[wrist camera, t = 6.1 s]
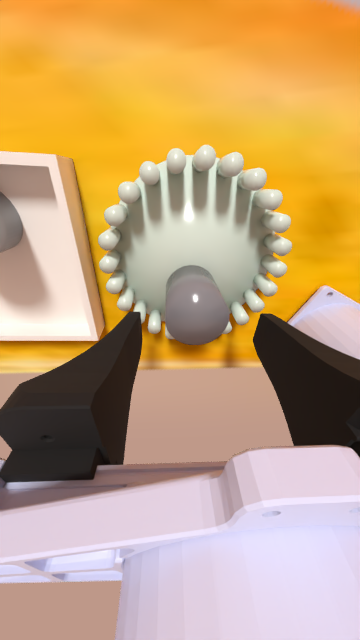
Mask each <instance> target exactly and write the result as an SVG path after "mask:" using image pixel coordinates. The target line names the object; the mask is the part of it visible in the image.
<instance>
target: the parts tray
mask: <svg viewBox="0 0 360 640" xmlns="http://www.w3.org/2000/svg"><path fill="white" fill-rule="evenodd" d="M0 192H2V193H3V194H4V195H5V196H6V197H7V198H8V199H9V200H10V201H11V203H12V204H13V205H14V207H15V208H16V210H17V211H18V213H19V215H20V218H21V221H22V225H23V235H22V239H21V241H20V242H19V243H18V245H16V246H15V247H13V248H11V249H9V250H6V251H4V252H2V253H0V341H98V340H99V338H100V336H101V333H102V331H103V329H104V327H105V322H104V317H103V312H102V307H101V302H100V297H99V292H98V287H97V282H96V276H95V271H94V266H93V261H92V256H91V251H90V246H89V241H88V236H87V231H86V225H85V220H84V215H83V210H82V205H81V200H80V195H79V190H78V185H77V179H76V174H75V169H74V164H73V159H71V158H67V157H63V156H59V155H53V154H36V153H20V152H4V151H0Z"/></svg>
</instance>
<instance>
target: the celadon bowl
mask: <svg viewBox="0 0 360 640" xmlns="http://www.w3.org/2000/svg"><path fill="white" fill-rule="evenodd" d="M243 165H244V160H243V157H242V155H241V154H240V153H238V152H233V153H231V154H228V155H226V156H224V157H222V158H220V159H219V158H216V154H215V151H214V149H213V148H212V147H211V146H209V145H204V146H202V147H201V148H200V149H199V150H198V151H197V152H196V153H195V154H194V155H186V156H185V154H184V152H183V151H182V150H181V149H178V148H174V149H172V150H171V151H170V152H169V153H168V155H167V160H166V161H164V162H161V163H159V164H157V165H155V164H154V163H153V162H151V161H146V162H144V163H143V164H142V165H141V167H140V171H139V173H140V177H138V178H137V180H136V181H135V182H123V183H121V184H120V186H119V188H118V194H119V197H120V199H121V200H120V202H119V203H118V204H116V205H113V206H111V207H109V208H107V209H106V210H105V213H104V217H105V220H106V222H107V223H108V224H109V225H111V227H110V228H109V229H107V230H106V231H105V232H103V233H102V234H101V235H100V236H99V238H98V242H99V245H100V246H101V248H103V249H104V250H108V252H107V254H106V255H105V256H104V257H103V258H102V259H101V261H100V263H99V266H100V269H101V270H102V271H103V272H105V273H112V272H113V274H112V275H111V277H110V279H109V280H108V282H107V284H106V289H107V290H108V291H109V292H110V293H112V294H117V293H119V292H120V291H121V288H122V293H121V295H120V298H119V300H118V302H117V306H118V308H119V309H120V310H122V311H128V310H129V309H130V308H131V306H132V302H133V303H134V304H135V306H134V310H133V312H140V313H141V324H142V323H143V322H144V321H145V316H146V313H147V314H149V323H148V331H149V332H150V333H153V334H156V333H158V332H160V330H161V321H165V304H166V283H167V281H168V279H169V277H170V275H171V274H172V273H173V272H174V271H176V270H177V269H179V268H181V267H183V266H188V265H196V266H200V267H203V268H204V269H206V270H207V271H209V273H210V274H211V275H212V277H213V279H214V281H215V283H216V285H217V287H218V289H219V291H220V293H221V295H222V297H223V299H224V301H225V303H226V305H227V307H228V310H229V314H230V313H232V314H233V316H234V318H235V320H236V322H237V324H239V325H244V324H246V323H247V322H248V320H249V317H248V315H247V313H246V312H245V310H244V308H243V307H242V305H243V304H244V303H245V302H246V303H247V304H248V306H249V307H250V309H251V310H252V311H253V312H260V311H261V310H262V309H263V308H264V303H263V301H262V300H261V299H260V298H259V296H258V295H257V294H256V293H255V291H256V290H257V289H258V288H259V289H260V290H261V291H262V293H263V294H264V295H265V296H272V295H274V294H275V293H276V292H277V286H276V285H275V284H274V283H273V282H272V281H271V280H270V279H269V278H268V277H267V276H266V273H267V271H268V272H269V273H271V274H272V275H273V276H274V277H281V276H283V275H284V274H285V273H286V271H287V266H286V265H285V264H284V263H283V262H281V261H280V260H278V259H277V258H275V257H274V256H273V252H275V253H276V254H278V255H279V256H284V255H286V254H288V253H289V252H290V250H291V248H292V243H291V242H290V241H289V240H287V239H285V238H283V237H281V236H279V235H277V234H275V232H277V233H282V232H285V231H286V230H287V229H288V228H289V226H290V223H291V219H290V217H289V216H288V215H285V214H281V213H278V212H274V211H271V210H275V209H277V208H278V207H279V206H280V204H281V202H282V198H283V197H282V193H281V192H280V191H279V190H271V189H261V188H262V187H263V186H264V185H265V183H266V179H267V175H266V172H265V170H264V169H262V168H255V169H249V170H242V169H243ZM231 330H232V326H231V324H230V322H228V325H227V327H226V329H225V331H224V332H223V334H227V333H229V332H230V331H231ZM165 335H166V337H167V338H168V339H175V338H173V337H172V336H171V335H170V333H169V332H168V330H167V327H166V325H165Z"/></svg>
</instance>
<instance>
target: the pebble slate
mask: <svg viewBox="0 0 360 640" xmlns="http://www.w3.org/2000/svg"><path fill="white" fill-rule="evenodd" d="M22 235H23V225H22V221H21V218H20V215H19V213H18V211H17V210H16V208H15V207H14V205H13V204H12V203H11V201H10V200H9V199H8V198H7V197H6V196H5V195H4V194H3V193H2V192H0V253H2V252H4V251H6V250H9V249H11V248H13V247H15V246H16V245H18V243H19V242H20V241H21V239H22Z"/></svg>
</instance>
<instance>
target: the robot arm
mask: <svg viewBox="0 0 360 640" xmlns="http://www.w3.org/2000/svg"><path fill="white" fill-rule="evenodd" d="M329 292H330V293H329ZM328 293H329V294H328ZM327 294H328V295H327ZM253 343H254V346H255V349H256V352H257V355H258V357H259V359H260V361H261V363H262V365H263V367H264V369H265V371H266V373H267V374H268V377H269V379H270V380H271V382H272V384H273V386H274V389H275V391H276V393H277V396H278V399H279V401H280V404H281V406H282V410H283V412H284V415H285V418H286V421H287V424H288V428H289V431H290V434H291V437H292V441H293V444H294V446H276V447H259V448H252V449H247V450H245V451H242V452H239V453H237V454H235V455H233V457H231V459H230V460H229V461H224V462H192V463H163V464H162V463H160V464H127V465H123V460H124V451H125V441H126V433H127V425H128V417H129V409H130V401H131V394H132V388H133V384H134V380H135V376H136V372H137V368H138V364H139V359H140V355H141V348H142V327H141V313H140V312H129V313H128V314H127V315H126V316H125V317H124V318H123V319H122V320H121V321H120V322H119V324H118V325H117V326H116V327H115V328H114V329H113V330H112V331H110V332H109V333H108V334H107V335H106V336H105V337H104V338H103V339H101V340H100V341H99V342H98V343H96V344H95V345H94V346H92V347H91V348H90V349H88V350H87V351H85V352H84V353H82V354H80V355H79V356H77V357H75V358H74V359H72V360H70V361H69V362H67V363H65V364H63V365H61V366H59V367H57V368H55V369H53V370H51V371H49V372H47V373H45V374H42V375H40V376H38V377H35V378H33V379H30V380H29V381H26V382H23V383H21V384H19V386H18V387H17V388H16V389H15V391H14V392H13V393H12V394H11V396H10V397H9V398H8V400H7V401H6V403H5V404H4V405H3V407H2V408H1V409H0V436H1V437H2V438H3V439H4V440H5V441H6V443H7V444H8V445H9V446H10V447H11V449H12V452H11V453H10V455H9V457H8V458H7V460H5V459H2V458H0V583H31V582H81V581H122V584H121V592H120V601H119V609H118V618H117V626H116V634H115V640H360V304H359V303H357V302H355V301H353V300H352V299H350V298H348V297H346V296H345V295H343V294H341V293H339V292H338V291H336V290H334V289H332V288H331V287H329V286H326V285H325V286H322V287H320V288H319V289H318V290H317V291H316V292H315V294H314V295H313V296H312V297H311V298H310V299H309V300H308V301H307V302H306V303H305V304H304V305H303V306H302V307H301V309H300V310H299V311H298V312H297V313H296V314H295V315H294V316H293V317H292V318H291V319H290V320H289V321H288V322H285V321H283V320H282V319H280V318H278V317H276V316H275V315H272V314H261V315H260V318H259V321H258V325H257V328H256V331H255V334H254V337H253Z"/></svg>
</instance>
